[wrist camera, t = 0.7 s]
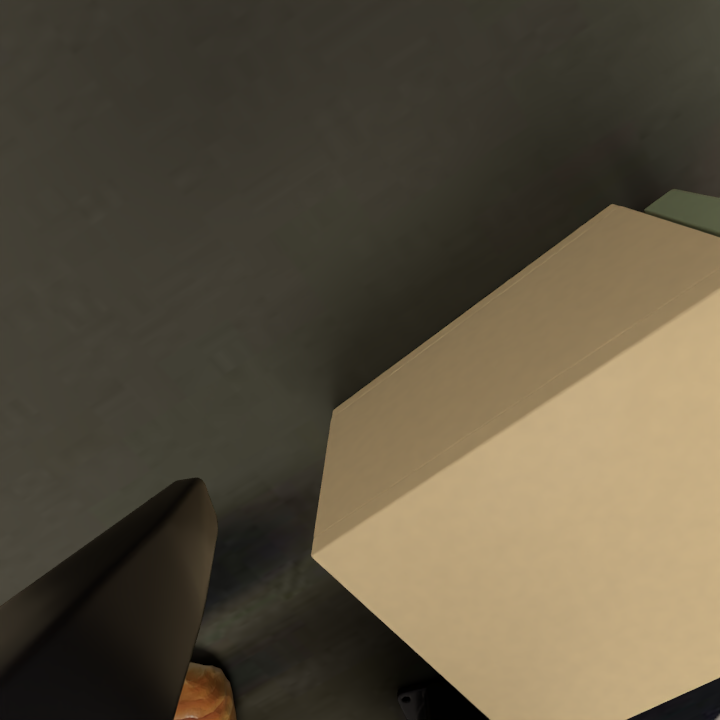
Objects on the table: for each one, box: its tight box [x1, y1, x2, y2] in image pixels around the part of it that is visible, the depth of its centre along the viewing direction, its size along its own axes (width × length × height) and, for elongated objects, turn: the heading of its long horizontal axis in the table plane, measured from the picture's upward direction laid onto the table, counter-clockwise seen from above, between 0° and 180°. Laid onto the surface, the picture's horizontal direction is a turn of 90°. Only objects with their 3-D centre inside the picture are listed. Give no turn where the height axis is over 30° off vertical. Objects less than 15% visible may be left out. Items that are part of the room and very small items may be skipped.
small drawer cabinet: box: [311, 204, 720, 720], centre depth 20 cm, size 14×12×9 cm
